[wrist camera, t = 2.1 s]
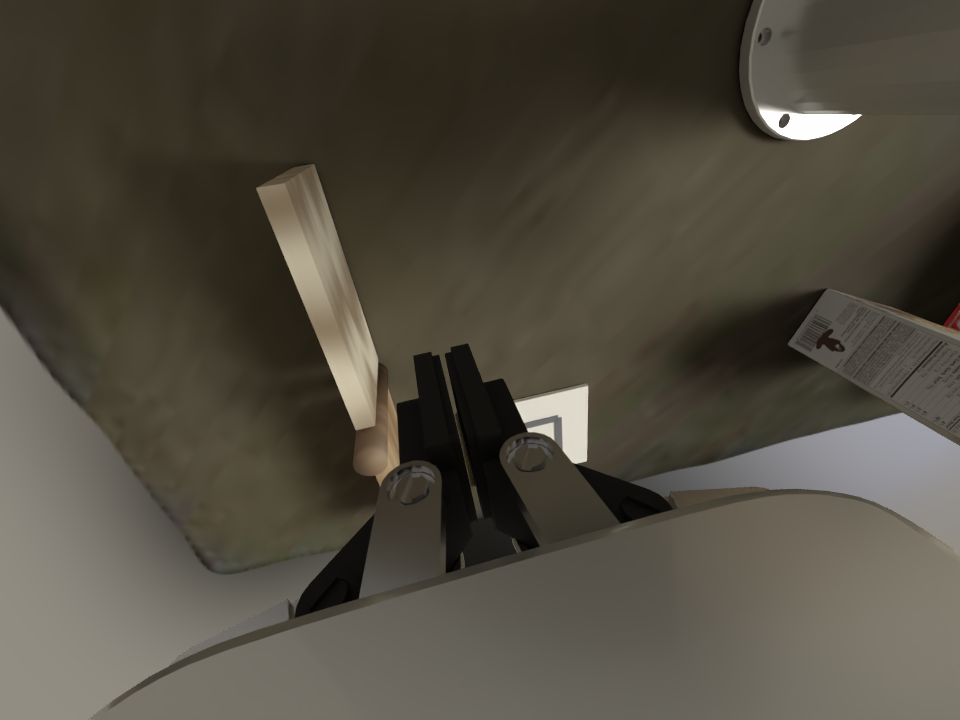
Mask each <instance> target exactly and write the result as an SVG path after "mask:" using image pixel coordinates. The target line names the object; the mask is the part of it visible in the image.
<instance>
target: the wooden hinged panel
mask: <svg viewBox="0 0 960 720" xmlns="http://www.w3.org/2000/svg"><path fill="white" fill-rule="evenodd" d="M399 465H400V461H399V442H398V422H397V414H396V411H395V408H394V405H393V401H392V398H391V395H390V392H389V389H388V370H387V368H386V367H385V366H384V365H383V364H381V363H378V376H377V398H376V420H375V426H372V427H368V428H364V429H359V430H356V438H355V448H354V457H353V468H354V470H355V471H356V472H357V473H359V474H361V475H364V476H374V475H375V476H376V478H377V481H378V483H379V485H380V486H381V483H382V481H383V479H384V478H385V477H386V475H387V474H388V473H389V472H390V471H392V470H393V469H394V468H395V467H397V466H399Z"/></svg>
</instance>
